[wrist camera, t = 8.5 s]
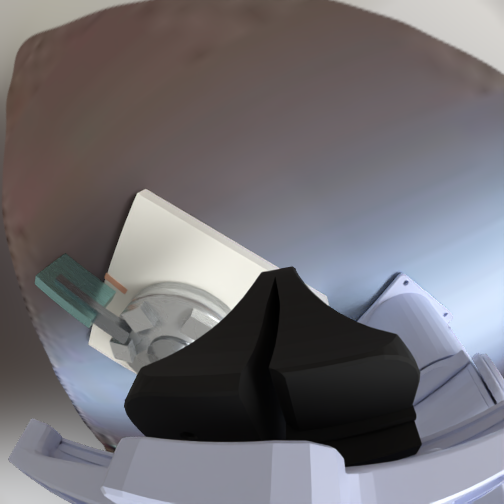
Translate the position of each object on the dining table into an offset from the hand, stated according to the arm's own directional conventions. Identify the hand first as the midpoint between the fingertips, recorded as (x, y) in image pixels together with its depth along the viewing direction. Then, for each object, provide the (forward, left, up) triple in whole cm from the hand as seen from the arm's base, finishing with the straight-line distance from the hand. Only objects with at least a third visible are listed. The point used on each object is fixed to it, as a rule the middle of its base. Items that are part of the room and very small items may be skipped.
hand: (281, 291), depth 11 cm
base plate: (+1, +13, -10) cm, 17 cm away
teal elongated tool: (+5, +13, -9) cm, 16 cm away
